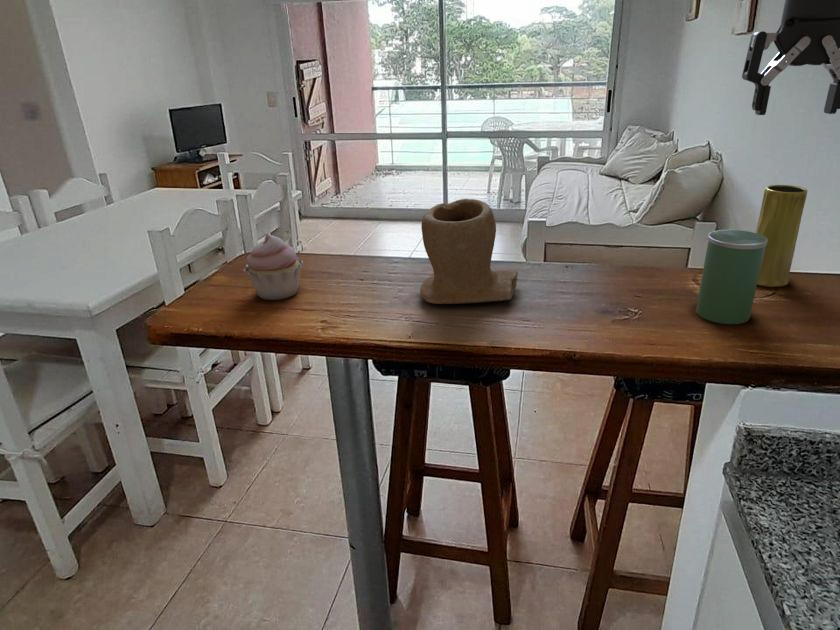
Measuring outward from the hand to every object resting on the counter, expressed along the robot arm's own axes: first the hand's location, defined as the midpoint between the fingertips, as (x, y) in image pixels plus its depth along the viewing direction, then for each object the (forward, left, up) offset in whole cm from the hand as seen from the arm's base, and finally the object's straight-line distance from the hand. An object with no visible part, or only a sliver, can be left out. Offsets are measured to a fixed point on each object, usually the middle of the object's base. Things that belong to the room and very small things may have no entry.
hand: (794, 114), depth 78 cm
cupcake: (+74, +15, -25) cm, 79 cm away
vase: (-1, -1, -25) cm, 25 cm away
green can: (+8, +13, -25) cm, 29 cm away
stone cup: (+43, +13, -25) cm, 51 cm away
